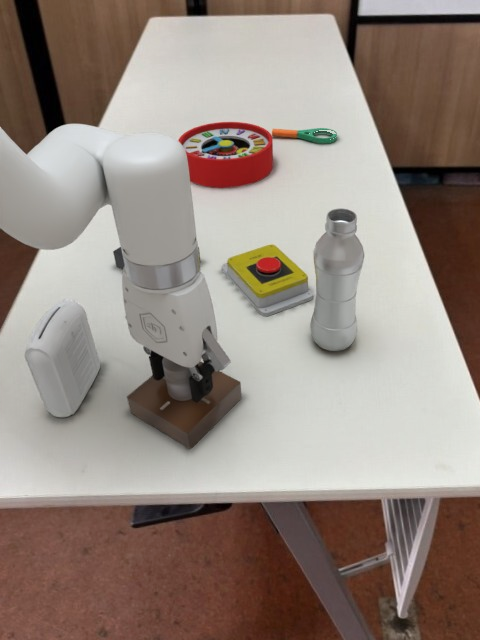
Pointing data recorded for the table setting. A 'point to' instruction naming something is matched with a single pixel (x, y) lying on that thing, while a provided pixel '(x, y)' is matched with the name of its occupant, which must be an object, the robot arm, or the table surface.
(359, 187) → the table surface
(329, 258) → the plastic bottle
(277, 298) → the emergency button
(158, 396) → the dial panel
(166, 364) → the dial
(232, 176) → the toy clock
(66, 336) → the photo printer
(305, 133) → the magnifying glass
